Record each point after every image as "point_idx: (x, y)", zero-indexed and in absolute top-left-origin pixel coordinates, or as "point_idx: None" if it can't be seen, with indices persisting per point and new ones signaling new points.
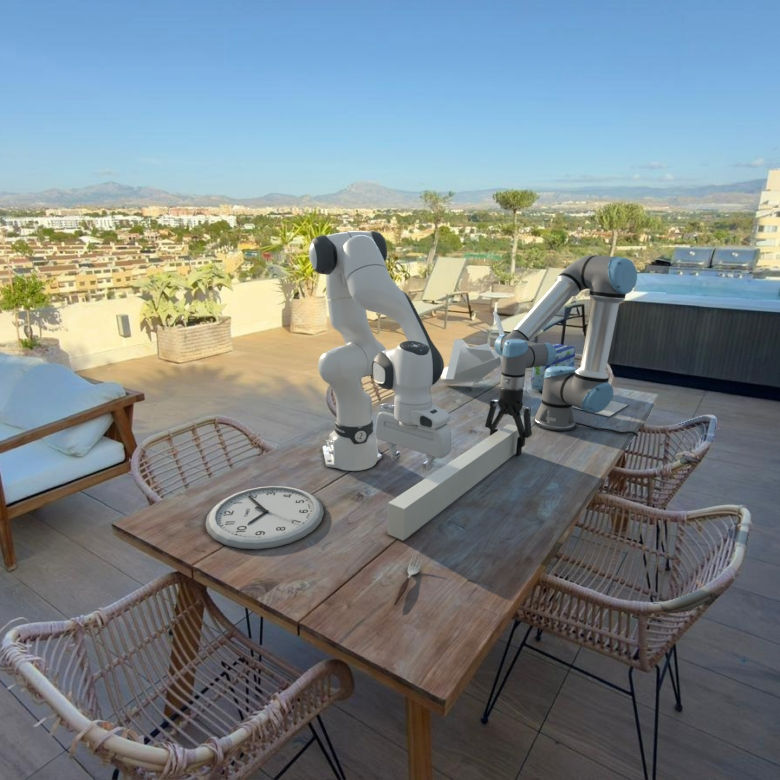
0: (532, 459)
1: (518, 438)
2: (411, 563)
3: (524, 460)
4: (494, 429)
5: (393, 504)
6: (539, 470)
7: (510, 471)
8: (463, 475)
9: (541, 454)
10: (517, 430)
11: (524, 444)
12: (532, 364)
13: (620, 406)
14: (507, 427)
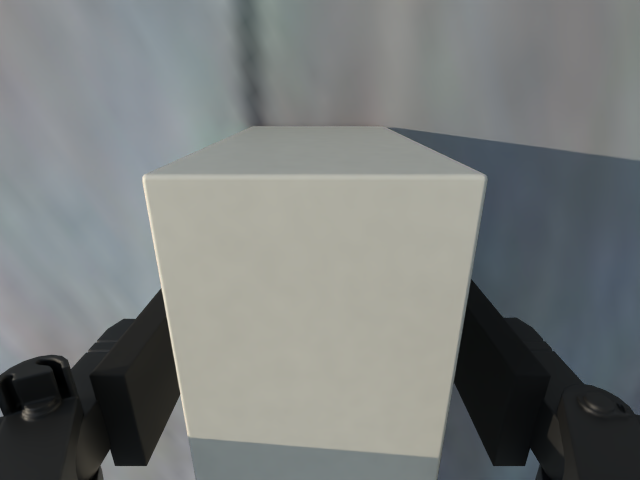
0: (538, 227)
1: (505, 459)
2: None
3: (483, 281)
4: (98, 432)
5: None
6: (615, 359)
7: (447, 459)
8: None
9: (599, 66)
10: (453, 363)
11: (532, 338)
12: None
13: None
14: (250, 381)
